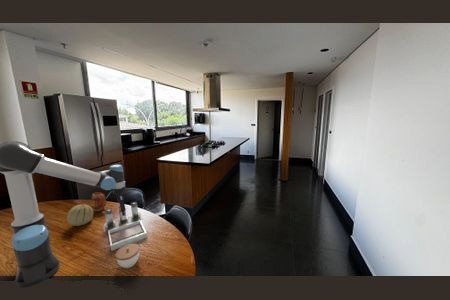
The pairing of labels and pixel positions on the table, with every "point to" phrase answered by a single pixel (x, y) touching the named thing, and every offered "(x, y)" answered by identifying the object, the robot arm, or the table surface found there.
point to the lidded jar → (127, 255)
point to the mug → (98, 201)
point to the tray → (129, 239)
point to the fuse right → (134, 210)
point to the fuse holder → (118, 224)
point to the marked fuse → (120, 216)
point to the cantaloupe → (80, 215)
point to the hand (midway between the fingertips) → (122, 215)
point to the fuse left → (109, 217)
